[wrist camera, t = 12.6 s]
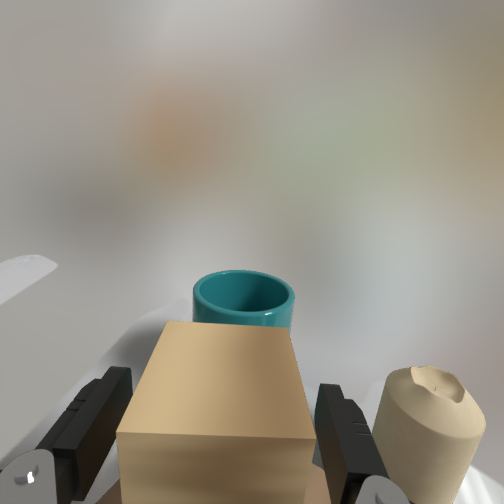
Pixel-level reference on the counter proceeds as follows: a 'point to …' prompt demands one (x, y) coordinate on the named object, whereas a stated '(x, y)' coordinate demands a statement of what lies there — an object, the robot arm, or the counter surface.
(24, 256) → the counter surface
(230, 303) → the cup
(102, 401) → the robot arm
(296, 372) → the oak pillar
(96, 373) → the counter surface
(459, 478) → the candle
